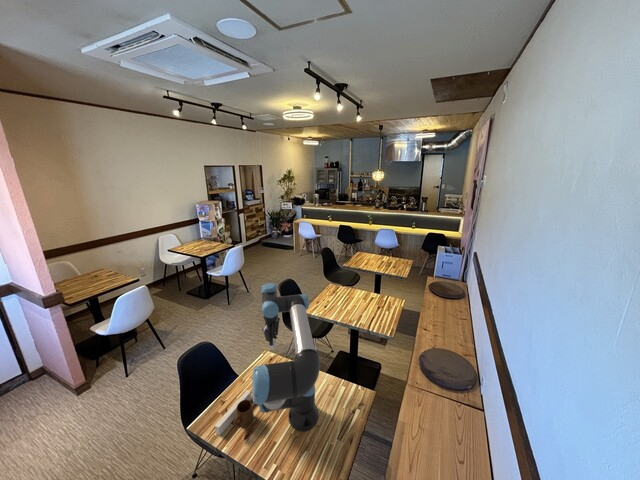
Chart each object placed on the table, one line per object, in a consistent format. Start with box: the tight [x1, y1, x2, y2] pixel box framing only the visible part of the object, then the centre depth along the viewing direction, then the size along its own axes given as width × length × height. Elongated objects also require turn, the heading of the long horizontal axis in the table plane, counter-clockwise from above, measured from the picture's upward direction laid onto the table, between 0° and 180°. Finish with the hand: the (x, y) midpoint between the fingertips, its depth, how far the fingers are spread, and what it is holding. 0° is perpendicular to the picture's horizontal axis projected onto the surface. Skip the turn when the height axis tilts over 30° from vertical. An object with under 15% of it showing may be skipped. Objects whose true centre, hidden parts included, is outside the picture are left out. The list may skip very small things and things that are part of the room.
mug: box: [233, 400, 254, 428], centre depth 125 cm, size 12×8×9 cm, turn 161°
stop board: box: [214, 389, 252, 436], centre depth 130 cm, size 2×22×5 cm, turn 153°
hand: (272, 348), depth 142 cm, fingers closed
